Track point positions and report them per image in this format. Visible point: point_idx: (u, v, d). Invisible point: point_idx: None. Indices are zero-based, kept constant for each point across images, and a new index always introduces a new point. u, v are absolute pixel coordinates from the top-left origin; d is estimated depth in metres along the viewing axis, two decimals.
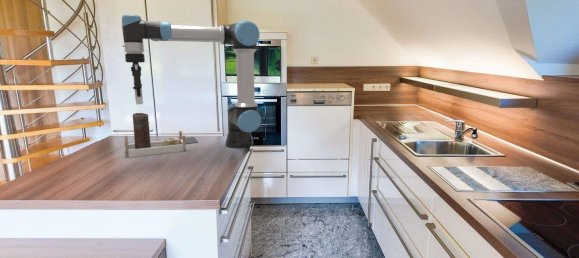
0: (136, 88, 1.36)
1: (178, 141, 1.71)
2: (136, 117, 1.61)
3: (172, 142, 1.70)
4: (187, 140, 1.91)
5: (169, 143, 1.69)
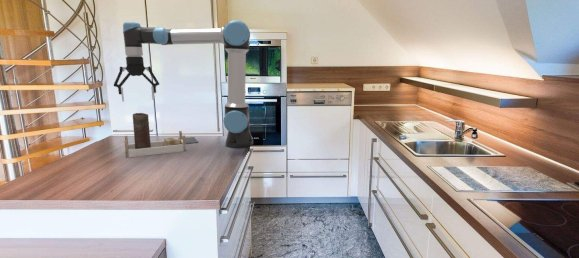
0: (117, 86, 1.57)
1: (178, 141, 1.71)
2: (136, 117, 1.61)
3: (172, 142, 1.70)
4: (187, 140, 1.91)
5: (169, 143, 1.69)
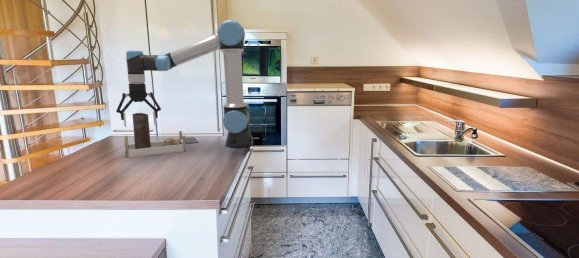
0: (119, 112, 1.60)
1: (177, 141, 1.71)
2: (136, 117, 1.61)
3: (171, 142, 1.70)
4: (187, 140, 1.91)
5: (168, 143, 1.69)
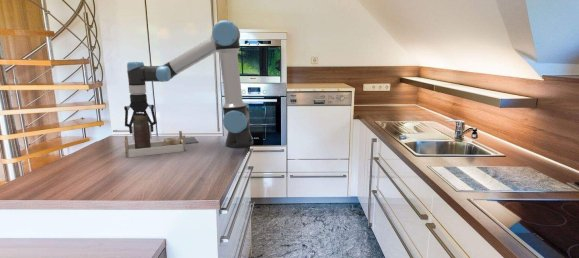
0: None
1: (177, 141, 1.71)
2: (136, 117, 1.61)
3: (171, 142, 1.70)
4: (187, 140, 1.91)
5: (168, 143, 1.69)
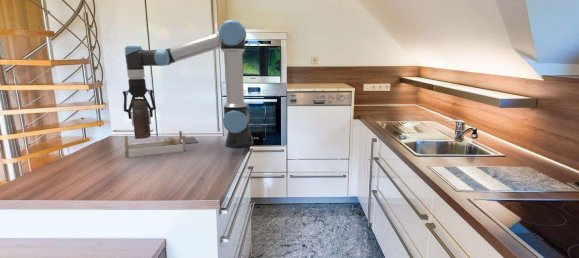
0: (127, 111, 1.62)
1: (178, 141, 1.71)
2: (135, 102, 1.59)
3: (171, 142, 1.70)
4: (187, 140, 1.91)
5: (168, 143, 1.69)
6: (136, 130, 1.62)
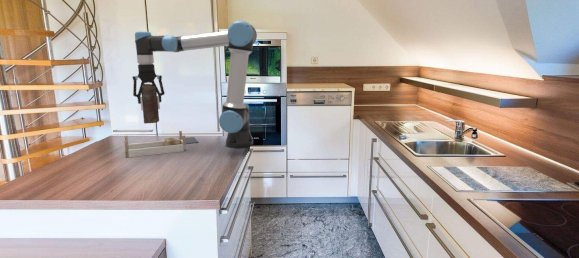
0: (136, 96, 1.65)
1: (178, 141, 1.71)
2: (144, 87, 1.63)
3: (172, 142, 1.70)
4: (187, 140, 1.91)
5: (168, 143, 1.69)
6: (145, 115, 1.65)
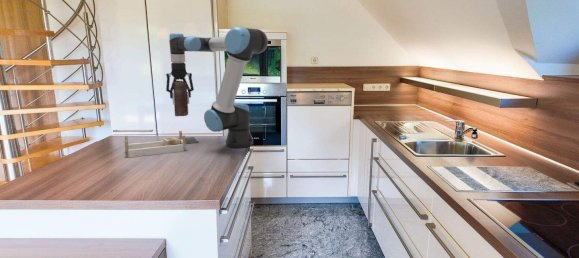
0: None
1: (177, 141, 1.71)
2: (176, 83, 1.80)
3: (171, 142, 1.70)
4: (187, 140, 1.91)
5: (168, 143, 1.69)
6: (177, 108, 1.83)
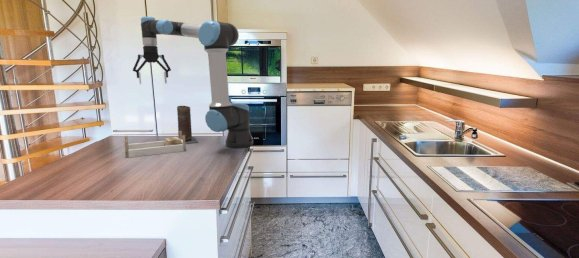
0: (135, 71, 1.85)
1: (179, 140, 1.72)
2: (180, 109, 1.84)
3: (173, 141, 1.71)
4: None
5: (170, 142, 1.70)
6: None
